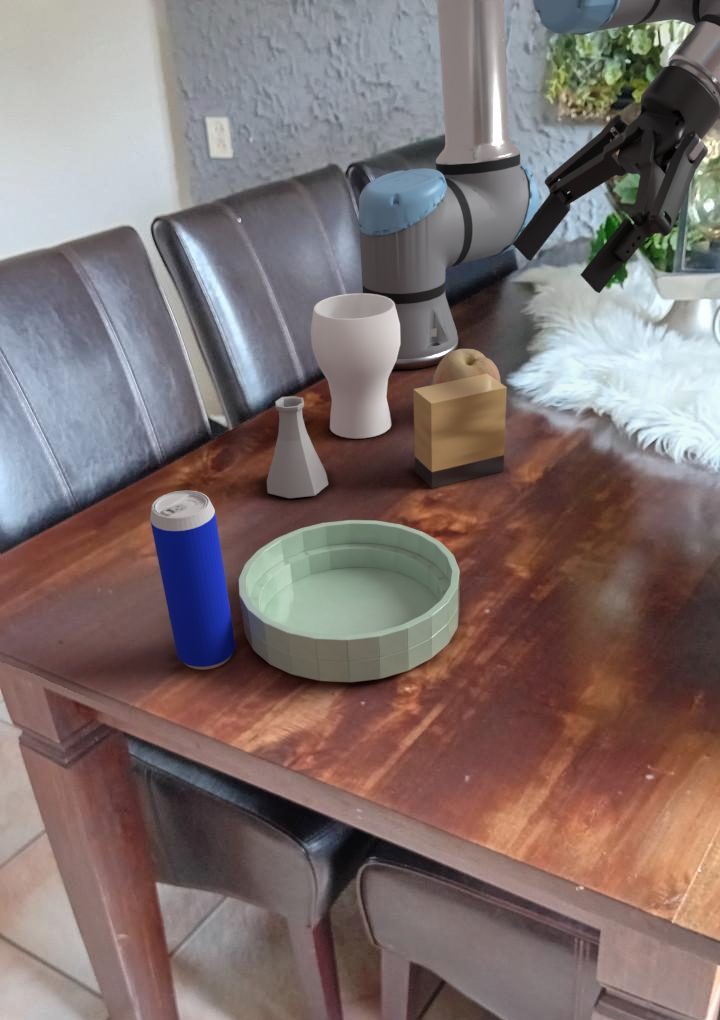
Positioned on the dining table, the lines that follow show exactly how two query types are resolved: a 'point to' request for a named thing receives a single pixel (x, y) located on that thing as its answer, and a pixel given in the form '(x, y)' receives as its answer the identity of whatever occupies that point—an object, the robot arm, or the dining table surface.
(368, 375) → the cup
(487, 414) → the eraser
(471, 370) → the fruit
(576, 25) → the robot arm
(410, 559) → the bowl
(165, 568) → the beverage can
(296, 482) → the flask
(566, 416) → the dining table surface
